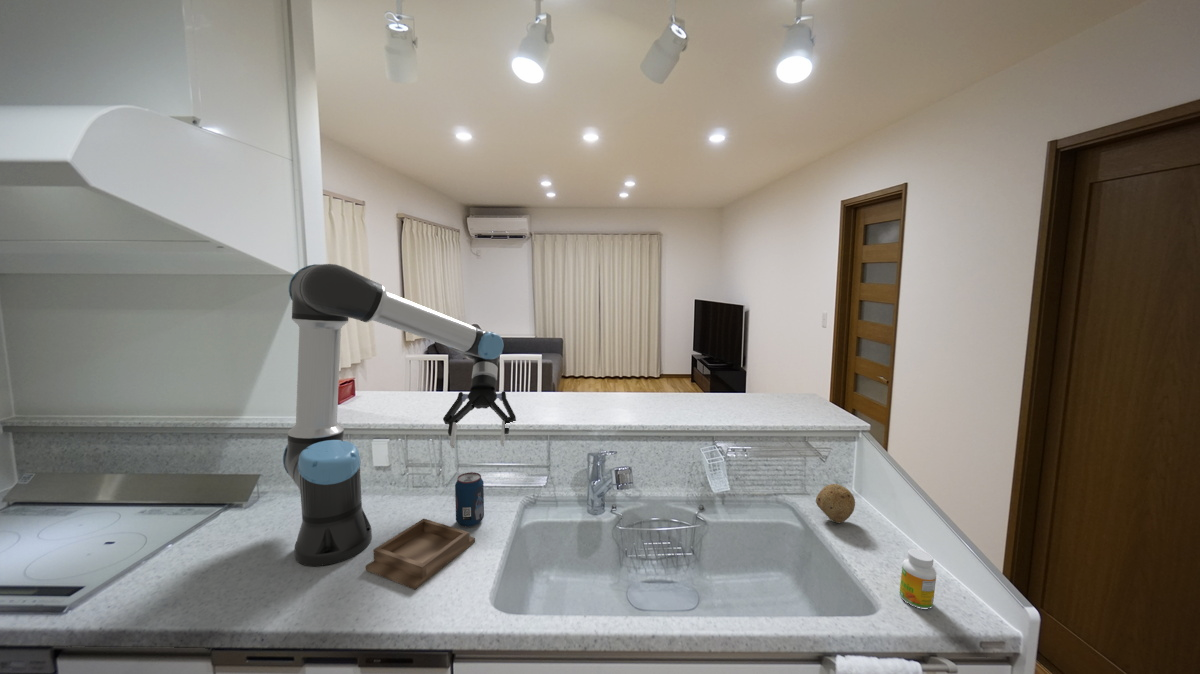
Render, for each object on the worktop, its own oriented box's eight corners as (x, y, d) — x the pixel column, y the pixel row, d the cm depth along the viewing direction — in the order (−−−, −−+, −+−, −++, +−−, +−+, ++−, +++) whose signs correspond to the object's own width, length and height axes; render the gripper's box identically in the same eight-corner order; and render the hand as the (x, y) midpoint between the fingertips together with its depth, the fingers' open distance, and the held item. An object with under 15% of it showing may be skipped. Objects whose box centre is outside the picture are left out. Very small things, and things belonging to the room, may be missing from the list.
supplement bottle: (892, 591, 88) (897, 546, 87) (917, 590, 89) (922, 546, 87) (913, 611, 83) (918, 563, 82) (940, 610, 83) (945, 562, 82)
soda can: (459, 514, 115) (458, 471, 113) (486, 514, 115) (485, 471, 114) (452, 529, 108) (451, 483, 107) (481, 528, 108) (480, 482, 107)
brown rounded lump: (809, 519, 115) (812, 483, 114) (822, 508, 121) (825, 474, 120) (846, 534, 108) (850, 496, 107) (858, 522, 114) (862, 485, 113)
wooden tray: (365, 570, 92) (365, 554, 92) (430, 527, 109) (429, 514, 108) (415, 589, 87) (414, 573, 86) (475, 541, 103) (474, 527, 103)
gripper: (526, 385, 138) (523, 449, 125) (444, 387, 135) (433, 452, 122) (524, 372, 132) (522, 437, 119) (439, 374, 129) (427, 441, 116)
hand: (477, 445), depth 121 cm, fingers open, 13 cm apart
